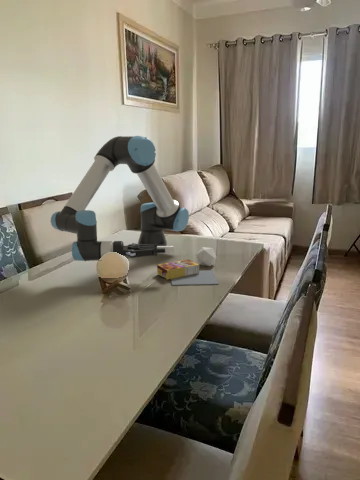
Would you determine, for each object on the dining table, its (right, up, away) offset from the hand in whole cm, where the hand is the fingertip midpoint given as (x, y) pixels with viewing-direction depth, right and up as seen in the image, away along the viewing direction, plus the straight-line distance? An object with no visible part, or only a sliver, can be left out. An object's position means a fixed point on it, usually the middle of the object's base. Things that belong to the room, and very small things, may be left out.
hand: (173, 249), depth 153 cm
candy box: (-5, -9, +3) cm, 11 cm away
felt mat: (+8, -11, +3) cm, 14 cm away
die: (+14, -7, +20) cm, 26 cm away
